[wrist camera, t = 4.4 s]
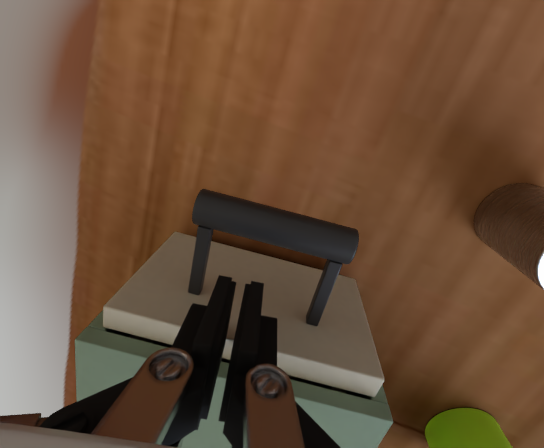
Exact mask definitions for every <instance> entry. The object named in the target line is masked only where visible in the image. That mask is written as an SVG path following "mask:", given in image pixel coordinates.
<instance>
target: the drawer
mask: <svg viewBox="0 0 544 448" xmlns="http://www.w3.org/2000/svg"><path fill="white" fill-rule="evenodd" d="M192 221H193V223H194V224H196V225H199V226H198V231H197V237H194V236H190V235H186V234H182V233H179V232H174V233H173V234H172V235H171V236H170V237H169V238H168V239H167V240H166V241H165V242H164V243H163V244H162V245H161V247H160V248H159V249H158V250H157V251H156V252H155V253H154V254H153V255H152V256H151V257H150V258H149V259H148V260H147V261H146V262H145V263H144V264H143V265H142V266H141V268H140V269H139V270H138V271H137V272H136V273H135V274H134V275H133V276H132V277H131V278H130V279H129V280H128V281H127V282H126V283H125V284H124V285H123V286H122V287H121V289H120V290H119V291H118V292H117V293H116V294H115V295H114V296H113V297H112V298H111V299H110V300H109V301H108V302H107V303H106V304H105V305H104V307H103V327H105V328H109V329H112V330H116V331H120V332H124V333H128V334H131V335H130V336H129V338H133V339H137V340H141V341H145V342H149V343H153V344H156V345H160V346H164V347H168V348H171V347H172V345H173V343H174V340H175V338H176V336H177V334H178V332H179V330H180V328H181V326H182V324H183V321H184V319H185V317H186V315H187V313H188V311H189V309H190V307H191V305H192V304H193V303H195V304H200V305H206V306H207V305H208V302H209V300H210V297H211V295H212V292H213V289H214V287H215V284H216V282H217V279H218V276H219V275H221V276H227V277H232V281H234V282H236V288H235V293H234V299H233V304H232V310H231V315H230V321H229V327H228V332H227V337H226V342H225V346H224V351H223V355H222V359H221V361H222V362H226V363H229V362H230V357H231V352H232V347H233V342H234V337H235V332H236V327H237V322H238V318H239V313H240V308H241V303H242V298H243V293H244V288H245V284H251V281H255V282H260V283H264V289H263V300H262V310H261V315H263V316H268V317H274V318H277V367H279V368H281V369H282V370H283V371H285V372H286V374H287V375H288V376H289V378H290V379H291V380H295V381H299V382H303V383H307V384H311V385H315V386H318V387H322V388H326V389H330V390H334V391H338V392H342V393H345V394H346V390H348V391H351V392H355V393H359V394H363V395H367V396H371V397H375V396H376V394H377V393H378V391H379V389H380V387H381V386H382V384H383V382H384V375H383V372H382V369H381V365H380V362H379V358H378V355H377V352H376V348H375V345H374V341H373V338H372V335H371V331H370V328H369V324H368V321H367V318H366V314H365V311H364V307H363V304H362V301H361V297H360V294H359V290H358V287H357V284H356V280H355V279H353V278H349V277H346V276H342V275H338V274H339V271H340V269H341V266H342V263H343V264H349V263H350V262H351V261H352V260H353V258H354V256H355V253H356V250H357V247H358V241H359V234H358V231H357V230H356V229H353V228H350V227H346V226H342V225H338V224H335V223H331V222H327V221H323V220H319V219H316V218H312V217H308V216H304V215H301V214H297V213H293V212H289V211H286V210H282V209H278V208H274V207H271V206H267V205H263V204H259V203H255V202H252V201H248V200H244V199H240V198H237V197H233V196H229V195H225V194H222V193H218V192H214V191H210V190H207V189H202V190H201V191H200V192H199V194H198V196H197V198H196V201H195V204H194V208H193V213H192ZM213 229H215V230H218V231H222V232H226V233H230V234H234V235H237V236H241V237H245V238H249V239H253V240H256V241H260V242H264V243H268V244H271V245H275V246H279V247H283V248H287V249H290V250H294V251H298V252H302V253H306V254H309V255H313V256H317V257H321V258H324V259H327V261H326V264H325V266H324V269H323V270H319V269H315V268H311V267H308V266H304V265H300V264H296V263H292V262H289V261H285V260H281V259H277V258H273V257H270V256H266V255H262V254H258V253H254V252H251V251H247V250H243V249H239V248H236V247H232V246H228V245H224V244H220V243H217V242H213V241H211V240H212V235H213Z"/></svg>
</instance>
